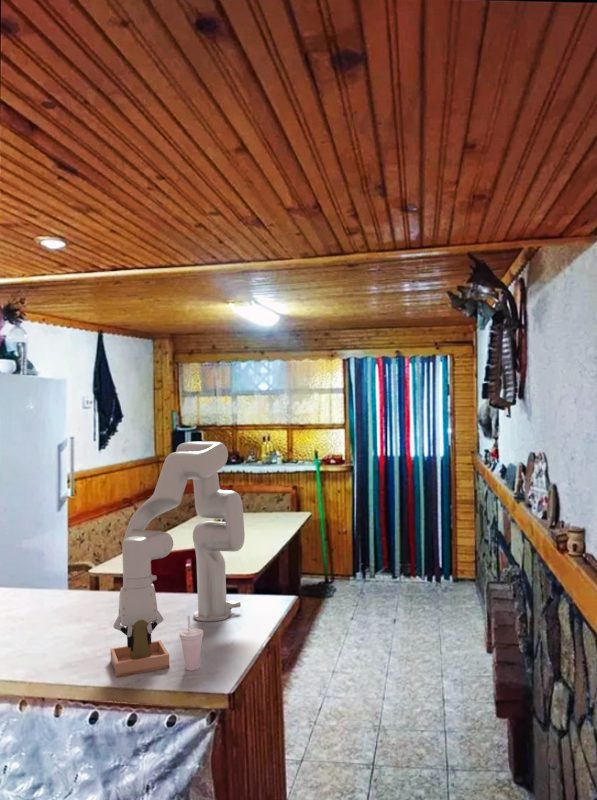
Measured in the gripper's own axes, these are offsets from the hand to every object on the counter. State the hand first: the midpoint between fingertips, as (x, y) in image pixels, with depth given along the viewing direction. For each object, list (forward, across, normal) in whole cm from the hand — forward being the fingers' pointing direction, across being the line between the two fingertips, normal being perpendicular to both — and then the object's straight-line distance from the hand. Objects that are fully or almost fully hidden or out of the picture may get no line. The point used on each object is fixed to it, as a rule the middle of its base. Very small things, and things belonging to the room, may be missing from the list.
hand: (139, 647), depth 180 cm
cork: (+2, 0, 0) cm, 2 cm away
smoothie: (+5, -12, +9) cm, 16 cm away
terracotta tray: (+5, 0, 0) cm, 5 cm away
